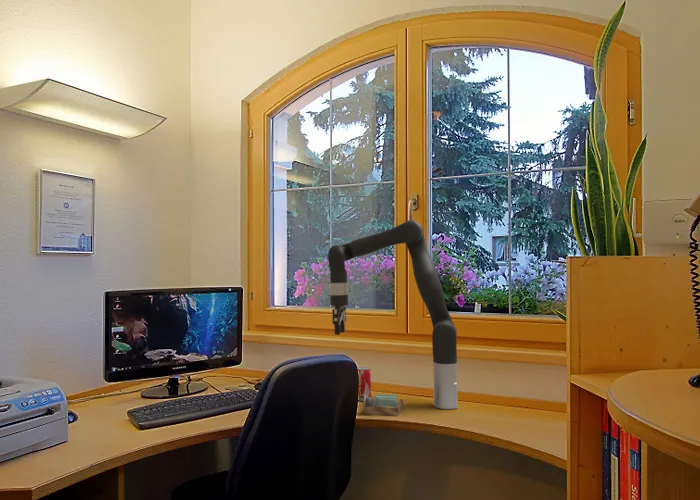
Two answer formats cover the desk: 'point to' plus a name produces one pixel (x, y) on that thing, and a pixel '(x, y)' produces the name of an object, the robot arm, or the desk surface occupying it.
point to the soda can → (364, 382)
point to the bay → (380, 407)
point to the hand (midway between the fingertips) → (339, 333)
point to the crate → (386, 400)
